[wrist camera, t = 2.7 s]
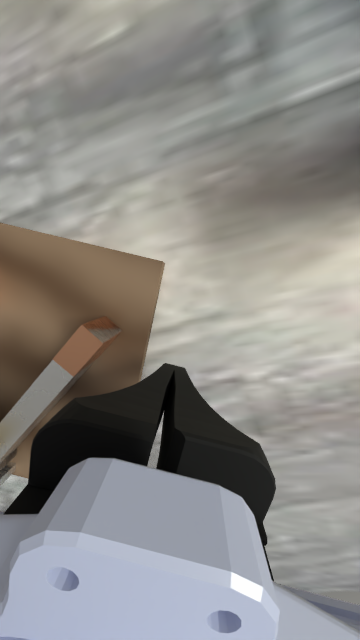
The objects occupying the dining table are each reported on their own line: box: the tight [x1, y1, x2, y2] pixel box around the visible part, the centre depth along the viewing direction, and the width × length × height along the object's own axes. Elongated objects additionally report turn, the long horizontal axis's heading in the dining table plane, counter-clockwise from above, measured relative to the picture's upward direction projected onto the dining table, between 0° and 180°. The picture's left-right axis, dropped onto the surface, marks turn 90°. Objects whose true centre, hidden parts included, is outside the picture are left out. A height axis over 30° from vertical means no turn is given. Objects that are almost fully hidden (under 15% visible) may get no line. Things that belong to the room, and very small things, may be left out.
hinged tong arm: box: [0, 316, 122, 471], centre depth 14 cm, size 17×2×3 cm, turn 137°
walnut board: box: [0, 223, 165, 478], centre depth 15 cm, size 22×18×1 cm
